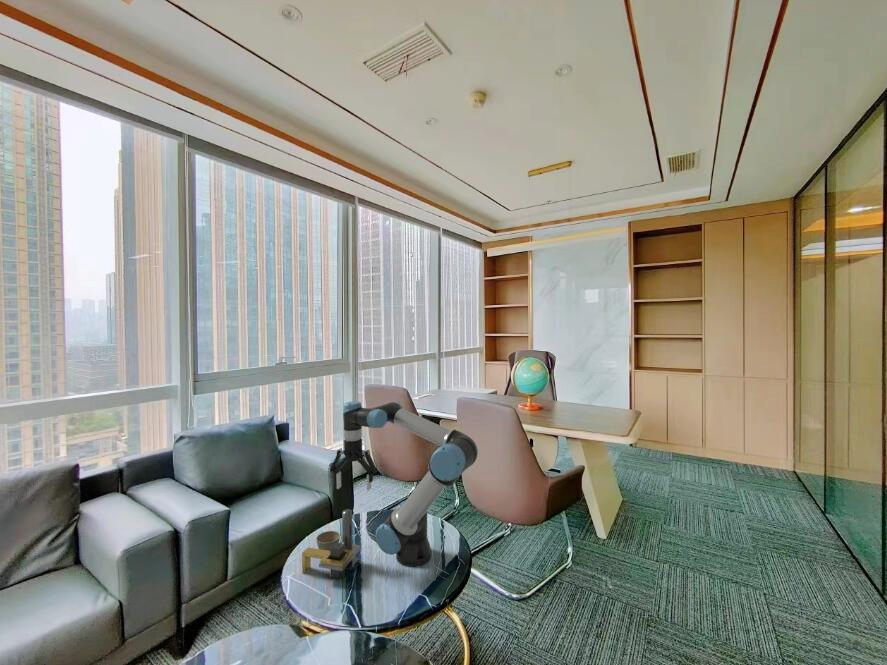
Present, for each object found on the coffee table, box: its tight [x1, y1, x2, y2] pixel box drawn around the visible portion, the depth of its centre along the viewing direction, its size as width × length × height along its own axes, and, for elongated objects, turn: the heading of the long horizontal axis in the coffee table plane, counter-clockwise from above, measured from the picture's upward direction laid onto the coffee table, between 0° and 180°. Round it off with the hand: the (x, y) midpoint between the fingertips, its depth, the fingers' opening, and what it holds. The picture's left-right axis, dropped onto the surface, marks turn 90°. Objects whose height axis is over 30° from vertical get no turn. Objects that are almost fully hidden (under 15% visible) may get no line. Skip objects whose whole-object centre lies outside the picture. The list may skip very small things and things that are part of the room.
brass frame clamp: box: [301, 508, 362, 575], centre depth 155 cm, size 20×16×22 cm
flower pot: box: [315, 530, 341, 551], centre depth 167 cm, size 10×10×7 cm
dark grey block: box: [329, 542, 346, 581], centre depth 151 cm, size 4×4×12 cm
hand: (353, 488), depth 162 cm, fingers open, 13 cm apart
